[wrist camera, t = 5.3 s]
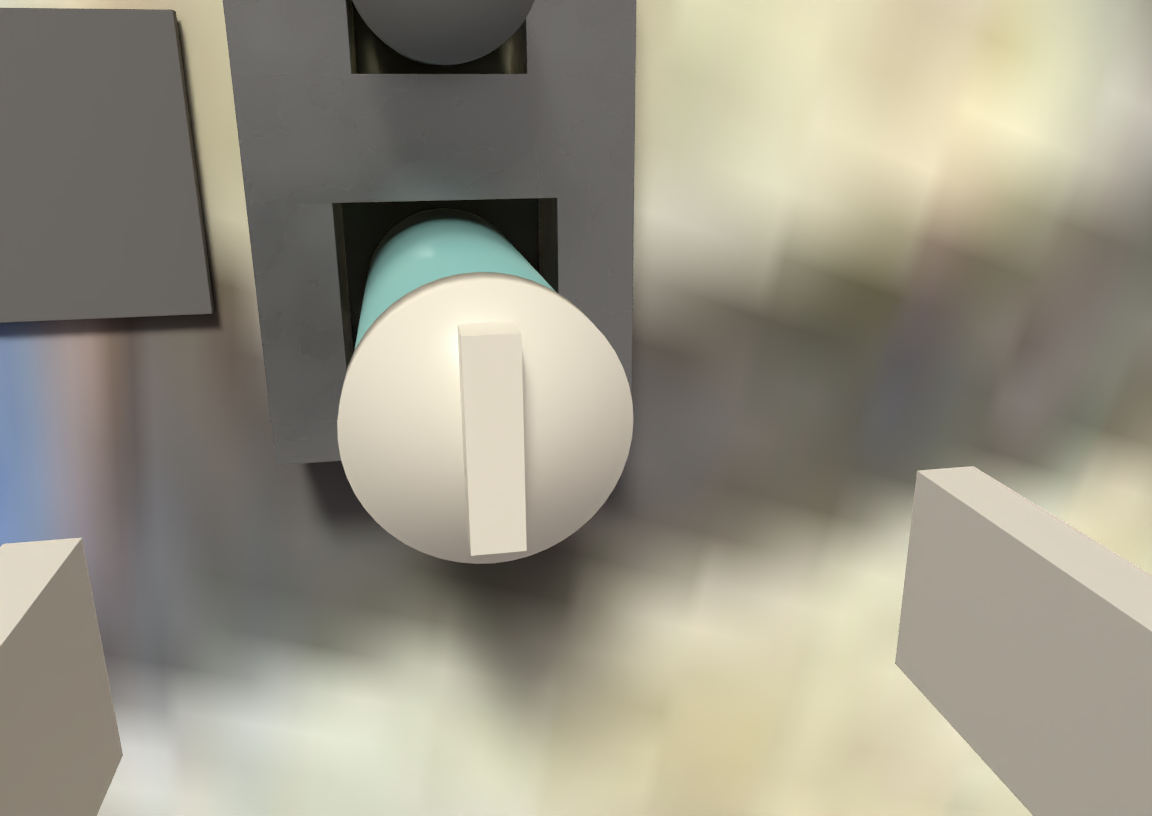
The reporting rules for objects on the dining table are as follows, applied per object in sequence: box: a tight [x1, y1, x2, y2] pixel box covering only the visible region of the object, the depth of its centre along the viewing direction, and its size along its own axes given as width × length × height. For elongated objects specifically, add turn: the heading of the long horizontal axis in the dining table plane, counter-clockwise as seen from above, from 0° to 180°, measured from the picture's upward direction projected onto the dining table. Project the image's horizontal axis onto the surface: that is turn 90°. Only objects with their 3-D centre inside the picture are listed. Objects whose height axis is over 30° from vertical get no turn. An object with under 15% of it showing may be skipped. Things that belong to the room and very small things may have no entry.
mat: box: [0, 8, 214, 323], centre depth 28 cm, size 9×9×1 cm
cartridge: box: [337, 208, 633, 564], centre depth 23 cm, size 5×5×16 cm
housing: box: [223, 0, 636, 465], centre depth 28 cm, size 17×11×4 cm, turn 1°
